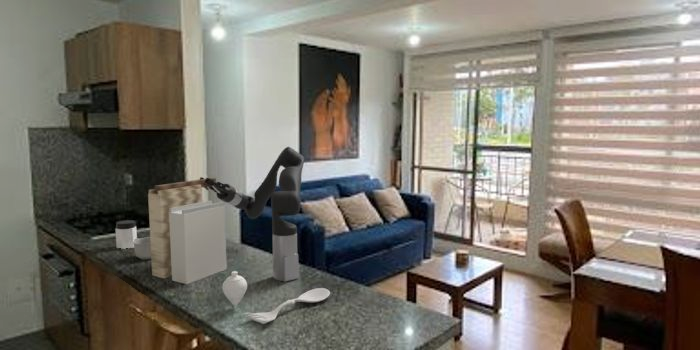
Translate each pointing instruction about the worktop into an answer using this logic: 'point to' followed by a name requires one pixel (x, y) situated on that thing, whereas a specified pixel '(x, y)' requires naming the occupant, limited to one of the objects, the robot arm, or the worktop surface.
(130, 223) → the jar
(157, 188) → the walnut bar
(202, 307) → the worktop surface
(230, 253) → the worktop surface
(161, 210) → the tall stand
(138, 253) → the teacup
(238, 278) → the spinning top
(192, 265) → the white upright box
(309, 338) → the worktop surface
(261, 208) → the robot arm
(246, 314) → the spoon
